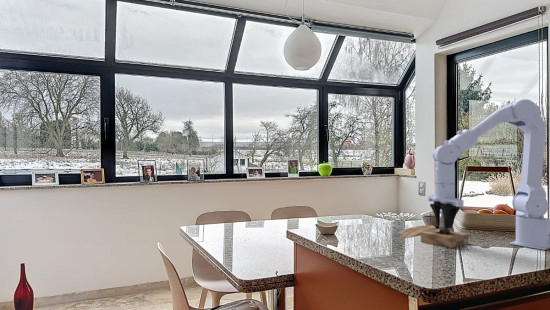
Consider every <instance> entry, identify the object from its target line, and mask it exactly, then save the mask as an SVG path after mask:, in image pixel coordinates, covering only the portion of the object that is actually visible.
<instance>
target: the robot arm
mask: <svg viewBox="0 0 550 310" xmlns="http://www.w3.org/2000/svg"><path fill="white" fill-rule="evenodd" d="M502 123H509V124H511V125H513V126H516V127H517V128H518V129H519V130H521V131H522V132H523V133H524V137H523V147H522V148H523V149H522V160H521V161H522V162H521V163H522V164H521V174H520V175H521V176H520V183H519V185H518V186H517V187H516V190H515V195H514V196H513V198H512V202H511V204H512V207H513V209H514V210H515V211H516V212H515V240H514V241H511V242H509V244H510V245H513V246H519V247H525V248H531V249H537V250H543V251H546V250H548V249H550V218H548V217H545V215H546V214H547V212H548V211H549V202H548V200H547V192H546V190H545V188H544V187H543V185H542V183H543V172H544V171H543V170H544V160H545V159H544V157H545V147H546V134H547V131H546V130H547V126H546V123H545V121H544V119H543V117H542V115H541V113H540V106H539V105H537V104H536V103H535V102H534V101H532V100H530V99H525V98H524V99H520V100H518V101H515V102H509V103H507V104H506V105H504V106H503V107H502V106H501V107H500V108H498V109H496V110H495V111H493V112H492V113H491V114H490V115H488V116H487V117H486V118H484V119H482V120H481V122H479V123H478V124H476V125H475V126H474V127H472V128H471V129H462V130H461V129H460V130H458V131H457V132H455V133H456V135H454V136H453V137H451V138H450V139H449V140H448V139H447V140H445V141H444V142H443V145H440V146H439V145H438V147H436V148H435V149H434V151H433V153H432V158H433V160H434V161H435V164H434V166H435V168H434V195H430V194H429V195H427V202H429V203H430V204H429V207H430V208H431V210H432V212H433V214H434V217H435V221H436V224H437V225H436V226H437V227H439V220H440V209H442V212H443V217H444V227H445V228H450V229H452V228H453V225H454V221H455V219H456V216H457V214H458V212H459V211H460V210H461V207H462V208H463V207H464V205H465V204H464V200H463V199H460V198H456V195H455V192H456V167H455V162H457V159H458V158H459V156H461V155H463V154H464V153H466V152H467V151H469V150H470V149H472V148H473V147H474V146H476V145H477V143H478V138H480V137H481V136H483V135H484V134H486V133H488V132H490V131H491V130H492V129H494V128H496V127H497V126H498V125H500V124H502ZM431 202H433V203H431Z"/></svg>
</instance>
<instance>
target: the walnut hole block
mask: <svg viewBox="0 0 550 310" xmlns="http://www.w3.org/2000/svg"><path fill="white" fill-rule="evenodd" d="M469 235H470V234H469V233H465V232H460V231H453V230H450V235H444V234H439V228H436V230H431V231H425V232H421V235H420V242H421V243H424V244H428V245H429V244H430V245H435V246H439V247H444V248H449V249H450V248H455V247H459V246H465V245H468V244H470V242H469V241H470V240H469V237H470V236H469Z"/></svg>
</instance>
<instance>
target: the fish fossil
mask: <svg viewBox="0 0 550 310" xmlns="http://www.w3.org/2000/svg"><path fill="white" fill-rule="evenodd" d="M436 229H437V227H436V226H435V225H417V226H412V227H410V226H409V227H408V228H405V229H402V230H400V231H398V232H397V234H401V235H402V236H399V239H409V238H414V237H418V236H421V232H425V231H431V230H436Z"/></svg>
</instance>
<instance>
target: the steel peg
mask: <svg viewBox="0 0 550 310" xmlns="http://www.w3.org/2000/svg"><path fill="white" fill-rule="evenodd" d="M438 227H439V228H438V229H439V234H444V235H450V231H451V230H450V229H451V228H445V227H444V217H443V212H442V209H440V220H439V226H438Z"/></svg>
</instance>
